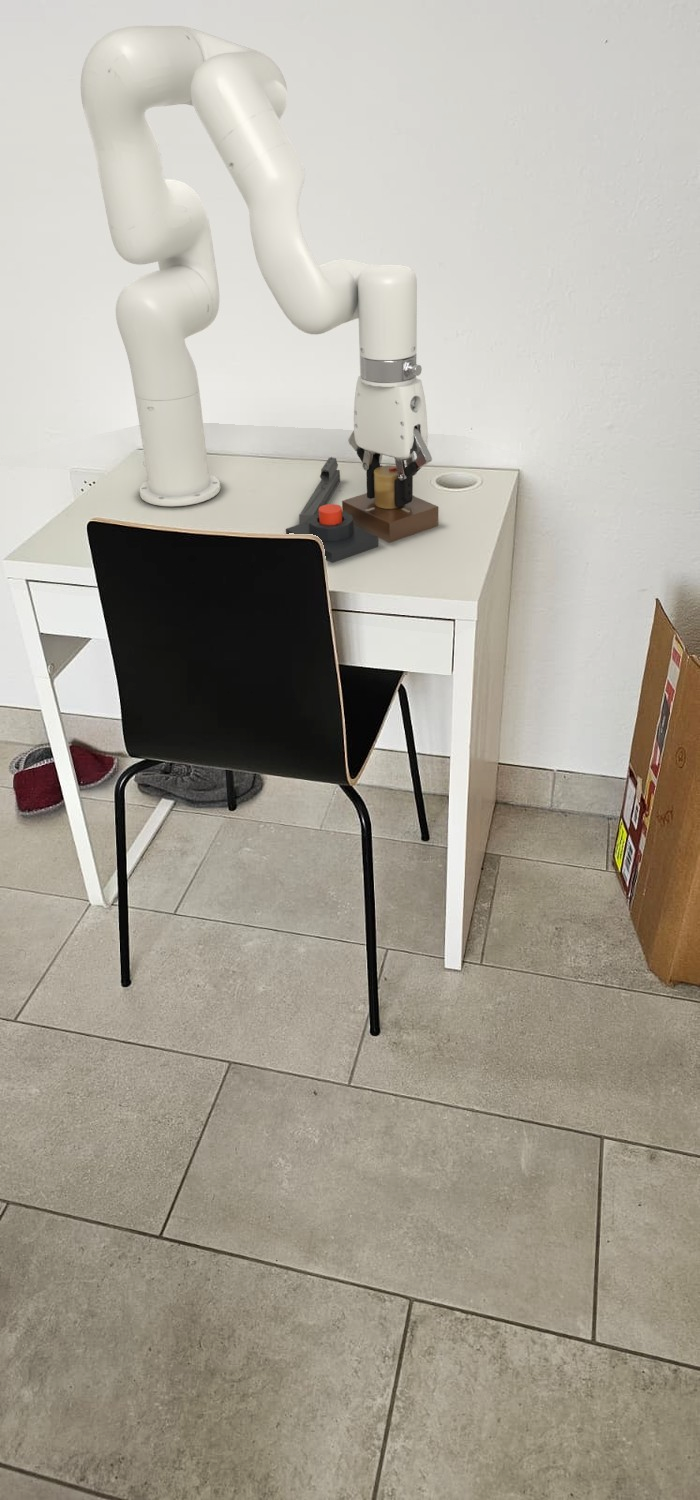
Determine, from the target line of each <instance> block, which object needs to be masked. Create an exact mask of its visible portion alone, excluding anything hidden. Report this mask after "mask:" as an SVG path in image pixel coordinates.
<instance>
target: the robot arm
mask: <svg viewBox="0 0 700 1500" xmlns="http://www.w3.org/2000/svg"><path fill="white" fill-rule="evenodd" d="M80 96H81V98H80V99H81V103H82V109H83V113H84V114H83V115H84V118H85V121H86V124H87V128H88V131H89V135H90V139H91V143H92V145H93V150H94V154H95V159H96V165H97V166H96V167H97V172H98V177H99V182H100V183H99V184H100V187H101V192H102V198H103V204H104V209H105V213H106V219H107V224H108V228H109V233H110V237H111V240H112V244H113V246H114V248H115V251H116V252H117V254H118V255H119V256H120V257H121V258H122V259H123V260H124V261H126V262H128V263H130V264H132V265H139V266H141V265H148V264H149V265H150V264H153V263H158V269H159V270H156V271H152V272H149V273H147V274H144V275H141V276H138V277H137V278H134V279H133V280H131V281H130V282H128V283H127V284H126V285H125V286H124V287H123V289H122V290H121V292H120V293H119V295H118V297H117V299H116V304H115V318H116V320H115V321H116V324H117V328H118V331H119V335H120V337H121V340H122V343H123V345H124V350H125V352H126V355H127V359H128V363H129V369H130V373H131V380H132V385H133V392H134V398H135V403H136V404H135V405H136V411H137V416H138V418H137V419H138V424H139V430H140V437H141V443H142V451H143V456H144V457H143V458H144V460H143V462H142V465H143V467H144V468H145V469H146V477H147V480H146V481H144V482H143V483H141V485H140V486H139V489H138V490H139V496H140V498H141V500H143V502H145V503H148V504H150V505H154V506H159V507H183V506H185V507H186V506H191V505H196V504H201V503H203V502H206V501H208V500H211V499H213V498H214V497H215V496H217V495H218V494H219V493H220V491H221V481H220V480H219V478H217V477H216V476H215V475H213V474H210V471H209V461H208V455H207V454H208V453H207V446H206V445H207V444H206V437H205V428H204V420H203V412H202V403H201V402H202V401H201V394H200V387H199V378H198V373H197V369H196V365H195V362H194V359H193V358H192V356H191V353H190V351H189V349H188V346H187V345H186V340H185V339H187V338H188V337H189V338H190V337H191V336H193V335H195V334H198V333H199V332H202V331H203V330H205V329H207V328H209V326H211V325H212V324H213V322H214V321H215V320H216V318H217V315H218V312H219V309H220V287H219V279H218V271H217V265H216V259H215V258H216V257H215V252H214V245H213V237H212V230H211V225H210V220H209V216H208V213H207V209H206V208H205V205H204V203H203V201H202V199H201V198H200V196H199V195H198V193H197V192H196V190H194V188H192V187H191V186H190V185H189V184H187V183H185V182H183V181H181V180H177V179H172V178H166V177H165V173H164V168H163V160H162V154H161V149H160V146H159V141H158V139H157V137H156V135H155V132H154V130H153V128H152V126H151V124H150V122H149V121H148V119H147V117H146V112H147V110H149V109H151V108H158V107H168V106H169V107H170V106H178V105H188V106H191V107H194V110H195V112H196V115H197V117H198V119H199V120H200V122H201V124H202V126H203V128H204V129H205V131H206V133H207V135H208V137H209V138H210V141H211V142H212V144H213V146H214V147H215V150H216V151H217V153H218V155H219V157H220V158H221V160H222V162H223V164H224V165H225V168H226V169H227V171H228V173H229V175H230V177H231V179H232V180H233V182H234V184H235V186H236V187H237V189H238V191H239V193H240V195H241V196H242V199H243V200H244V202H245V203H246V206H247V209H248V215H249V216H248V217H249V229H250V235H251V240H252V245H253V250H254V254H255V255H254V256H255V259H256V263H257V265H258V268H259V271H260V272H261V275H262V277H263V280H264V281H265V283H266V286H268V287H267V288H268V289H269V291H270V292H271V294H272V295H273V297H274V299H275V301H276V303H277V304H278V306H279V308H280V309H281V310H282V312H283V314H284V315H285V317H286V319H288V320H289V321H290V323H291V324H292V325H293V327H295V328H297V329H298V330H299V331H301V332H303V333H305V334H308V335H321V334H325V333H327V332H330V331H331V330H333V329H336V328H337V327H339V326H341V325H343V324H347V323H349V322H351V321H354V320H357V319H358V344H359V375H358V376H357V381H356V386H355V393H354V402H353V403H354V404H353V405H354V406H353V431H352V432H351V434H350V436H349V438H347V439H348V440H347V441H348V445H350V447H351V448H352V449H353V450H354V451H355V452H356V455H357V457H358V459H360V461H361V462H362V464H361V466H362V469H363V470H364V471H365V472H366V493H367V498H370V499H372V498H374V470H375V469H376V468H378V467H381V466H383V465H381V464H382V460H383V459H382V458H383V456H386V457H389V458H390V457H391V458H393V459H394V463H395V466H396V469H397V474H398V479H395V506H396V507H401V506H403V505H405V504H408V503H410V502H411V501H412V496H414V493H413V491H414V489H413V488H414V487H413V486H414V484H413V483H414V481H413V479H414V478H413V477H414V476H416V475H417V473H418V472H419V471H420V470H421V469H422V468H423V467H424V466H426V465H427V464H430V463H431V462H432V461H433V457H432V455H431V452H430V450H429V449H428V441H429V438H428V433H429V432H428V415H427V405H426V395H425V392H424V391H425V390H424V386H423V382H422V380H421V379H420V378H418V376H420V375H421V374H422V369H423V368H422V366H421V364H417V351H418V349H417V344H418V343H417V341H418V339H417V338H418V337H417V335H418V332H417V331H418V329H417V328H418V325H417V322H418V320H417V319H418V318H417V317H418V315H417V314H418V313H417V312H418V309H417V308H418V304H417V303H418V284H417V283H418V281H417V280H418V279H417V275H416V272H415V271H414V270H413V269H412V268H411V267H409V266H408V265H404V264H397V263H396V264H395V263H394V264H392V263H390V264H389V263H387V264H385V263H383V264H371V263H367V262H362V261H359V260H355V259H349V258H337V259H333V260H329V261H327V262H325V263H322V264H320V265H319V264H318V262H317V260H316V259H315V257H314V255H313V253H312V251H311V250H310V247H309V245H308V243H307V241H306V239H305V236H304V233H303V230H302V225H301V223H300V216H299V215H300V214H299V206H300V205H299V203H300V197H301V194H302V191H303V188H304V187H303V186H304V184H305V179H306V169H305V165H304V163H303V161H302V160H301V157H300V156H299V154H298V152H297V151H296V149H295V147H294V144H293V143H292V141H291V140H290V138H289V135H288V134H287V132H286V130H285V128H284V126H283V123H282V122H281V119H282V117H283V115H284V114H285V111H286V108H287V103H288V87H287V82H286V79H285V77H284V75H283V73H282V70H281V69H280V67H279V66H278V65H277V63H276V62H275V61H274V60H273V59H272V58H270V57H269V56H268V55H266V54H265V53H263V52H261V51H258V50H256V49H253V48H250V47H246V46H244V45H241V44H237V43H235V42H232V41H229V40H227V39H223V38H221V37H219V36H215V35H212V34H209V33H207V32H204V31H201V30H198V29H196V28H191V27H188V26H183V25H132V26H131V25H130V26H125V27H121V28H117V29H114V30H112V31H110V32H107V33H106V34H104V35H103V36H102V37H101V38H99V39H98V40H96V42H95V43H94V44H93V46H92V47H91V48H90V50H89V52H88V53H87V55H86V58H85V60H84V63H83V67H82V70H81V73H80ZM415 455H416V458H415ZM405 463H406V464H405Z"/></svg>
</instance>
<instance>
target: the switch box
mask: <svg viewBox="0 0 700 1500" xmlns="http://www.w3.org/2000/svg"><path fill="white" fill-rule="evenodd" d="M289 533H294V534H313V535H316V536H318V537H319V538H320V539H321V540H322V542H323V545H324V549H325V556H326V560H325V561H327V562H329V563H331V564H333V563H336V562H340V561H342V560H345V559H348V558H350V557H353V556H356V555H360V554H362V553H366V552H369V551H371V550H374V549H377V548H379V537H377V536H375V535H373V534H370V533H368V532H366V531H364V530H362V529H360V528H358V527H356V526H354V525H353V518H352V515H350V514H348V513H345V512H342V523H338V524H335V525H325V524H321V523H319V513H317V514H314V515H312V516H311V517H310V518H309V519H308V522H305V523H302V524H300V523H299V524H296V525H293V526H290V527H287V528H285V535H286V534H289Z"/></svg>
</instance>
